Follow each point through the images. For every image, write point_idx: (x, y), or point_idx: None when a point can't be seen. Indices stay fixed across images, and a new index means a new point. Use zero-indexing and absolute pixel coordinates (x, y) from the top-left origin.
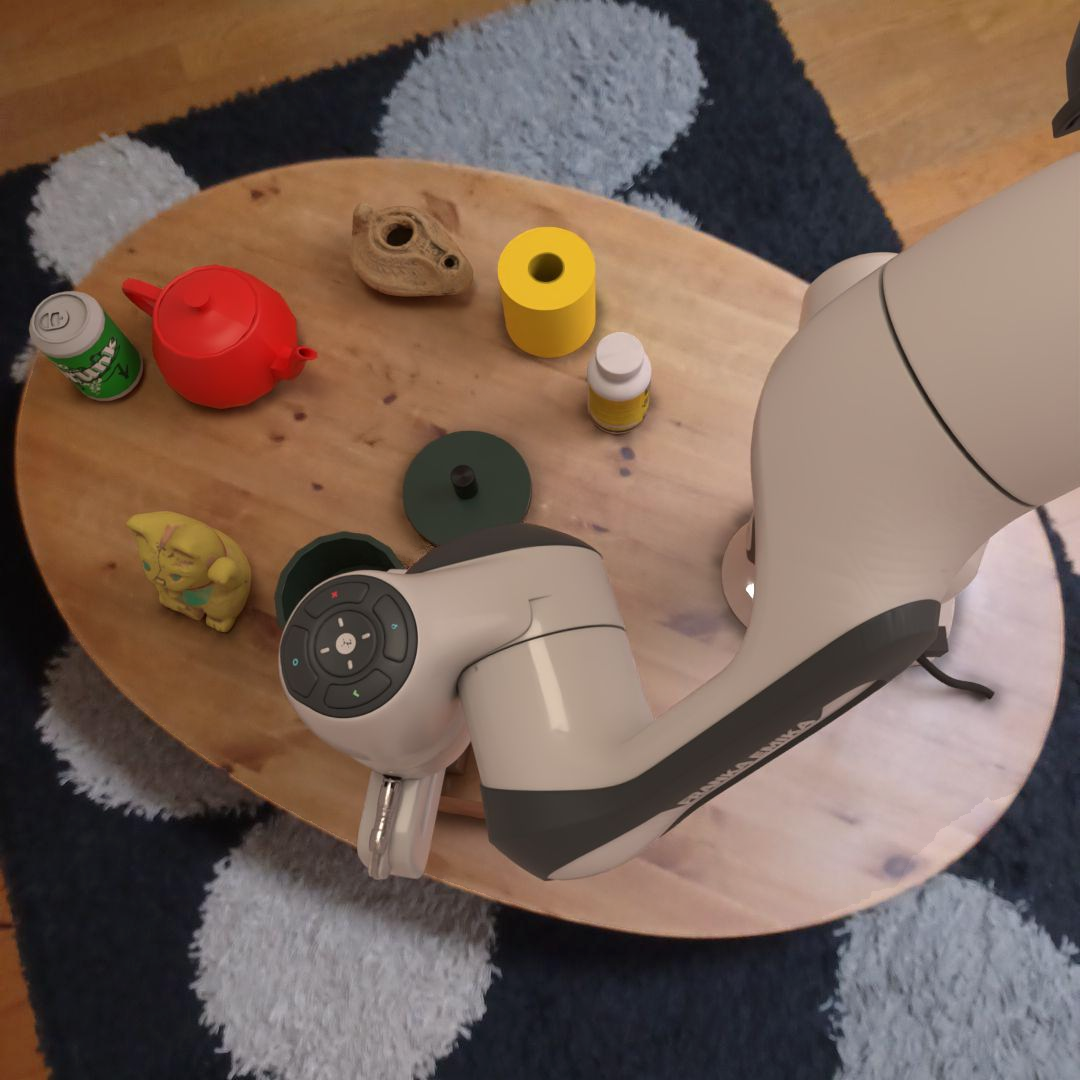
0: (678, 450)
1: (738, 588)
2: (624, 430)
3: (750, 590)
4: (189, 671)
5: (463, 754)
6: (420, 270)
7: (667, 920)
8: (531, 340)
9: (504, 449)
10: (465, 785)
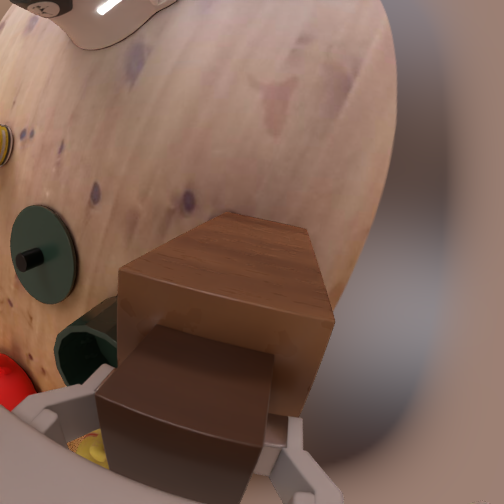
0: (25, 98)
1: (106, 26)
2: (8, 138)
3: (101, 9)
4: None
5: (226, 392)
6: None
7: (393, 91)
8: None
9: (16, 226)
10: (294, 353)
